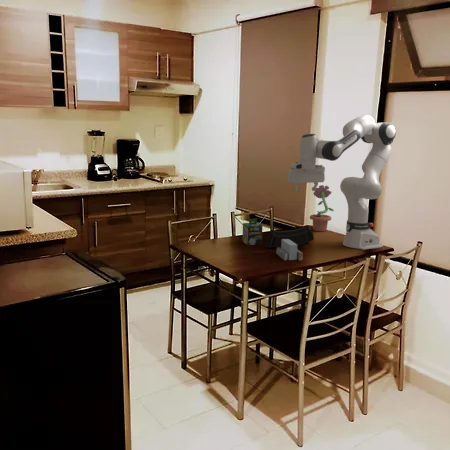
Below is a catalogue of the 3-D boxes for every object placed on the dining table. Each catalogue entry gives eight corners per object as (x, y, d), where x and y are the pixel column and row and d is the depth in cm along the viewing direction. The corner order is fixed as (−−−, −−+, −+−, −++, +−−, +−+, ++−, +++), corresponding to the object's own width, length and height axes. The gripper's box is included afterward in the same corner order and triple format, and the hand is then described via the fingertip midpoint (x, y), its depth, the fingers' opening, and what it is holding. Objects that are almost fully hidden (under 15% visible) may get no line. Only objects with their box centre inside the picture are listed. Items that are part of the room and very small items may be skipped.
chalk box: (256, 240, 277) (257, 216, 274) (262, 244, 268) (263, 219, 265) (241, 241, 274) (242, 217, 271) (247, 245, 266) (248, 220, 262)
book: (287, 253, 253) (288, 239, 251) (296, 259, 241) (297, 244, 240) (280, 253, 252) (281, 239, 250) (289, 260, 240) (290, 245, 239)
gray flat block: (279, 253, 251) (279, 247, 251) (287, 260, 240) (287, 253, 239) (276, 253, 251) (276, 247, 250) (284, 260, 240) (284, 253, 239)
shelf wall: (290, 251, 255) (291, 244, 254) (302, 260, 240) (302, 253, 239) (288, 252, 255) (288, 244, 254) (299, 260, 240) (300, 253, 239)
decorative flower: (331, 228, 312) (334, 183, 305) (333, 233, 298) (336, 186, 292) (308, 227, 314) (311, 182, 307) (309, 232, 300) (312, 185, 294)
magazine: (266, 234, 256) (309, 214, 267) (263, 232, 259) (306, 213, 270) (272, 261, 262) (314, 241, 273) (269, 260, 265) (311, 240, 276)
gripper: (322, 164, 254) (320, 189, 257) (287, 164, 249) (285, 190, 252) (327, 165, 248) (325, 191, 251) (291, 165, 243) (290, 192, 246)
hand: (305, 190), depth 251 cm, fingers open, 8 cm apart
